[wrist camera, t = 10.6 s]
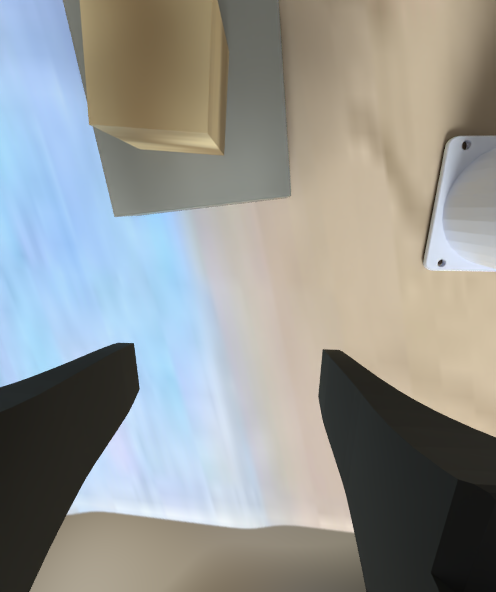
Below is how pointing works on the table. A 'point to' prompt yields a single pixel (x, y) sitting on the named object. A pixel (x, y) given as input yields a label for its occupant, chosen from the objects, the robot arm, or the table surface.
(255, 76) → the gray block
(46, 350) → the table surface
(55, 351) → the table surface
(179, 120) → the oak cube
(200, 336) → the table surface
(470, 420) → the table surface
